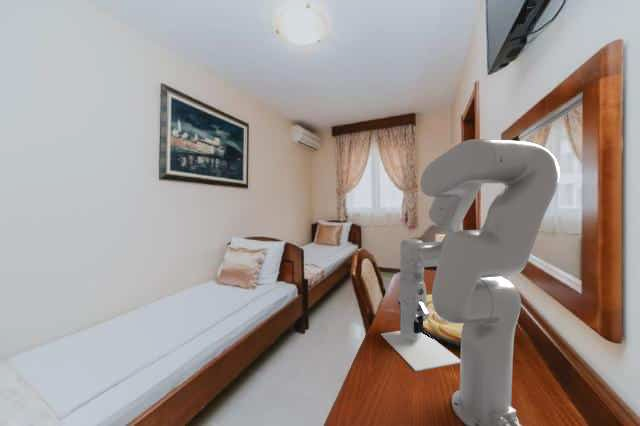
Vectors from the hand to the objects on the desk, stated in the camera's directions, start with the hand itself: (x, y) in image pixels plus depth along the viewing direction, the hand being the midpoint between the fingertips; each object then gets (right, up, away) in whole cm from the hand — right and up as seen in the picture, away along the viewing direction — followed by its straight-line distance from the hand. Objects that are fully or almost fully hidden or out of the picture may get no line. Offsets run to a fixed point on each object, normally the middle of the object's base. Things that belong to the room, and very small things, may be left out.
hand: (410, 326), depth 84 cm
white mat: (+1, -5, -3) cm, 6 cm away
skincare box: (0, -4, 0) cm, 4 cm away
